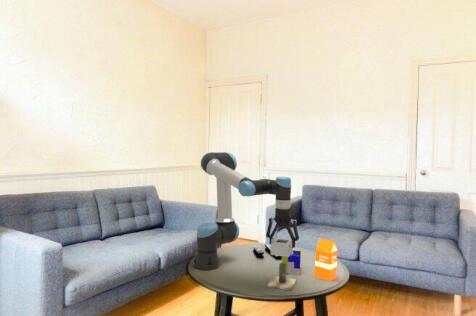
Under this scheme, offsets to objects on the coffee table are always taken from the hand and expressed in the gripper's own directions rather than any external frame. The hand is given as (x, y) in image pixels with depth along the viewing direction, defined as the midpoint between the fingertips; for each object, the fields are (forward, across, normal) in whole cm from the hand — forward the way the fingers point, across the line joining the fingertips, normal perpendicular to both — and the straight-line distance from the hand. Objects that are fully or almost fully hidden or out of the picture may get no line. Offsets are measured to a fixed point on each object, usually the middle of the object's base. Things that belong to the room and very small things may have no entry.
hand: (282, 252), depth 167 cm
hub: (0, 0, 0) cm, 0 cm away
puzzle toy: (+16, 0, +21) cm, 26 cm away
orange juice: (+16, +19, +20) cm, 32 cm away
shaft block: (+16, 0, +1) cm, 16 cm away
